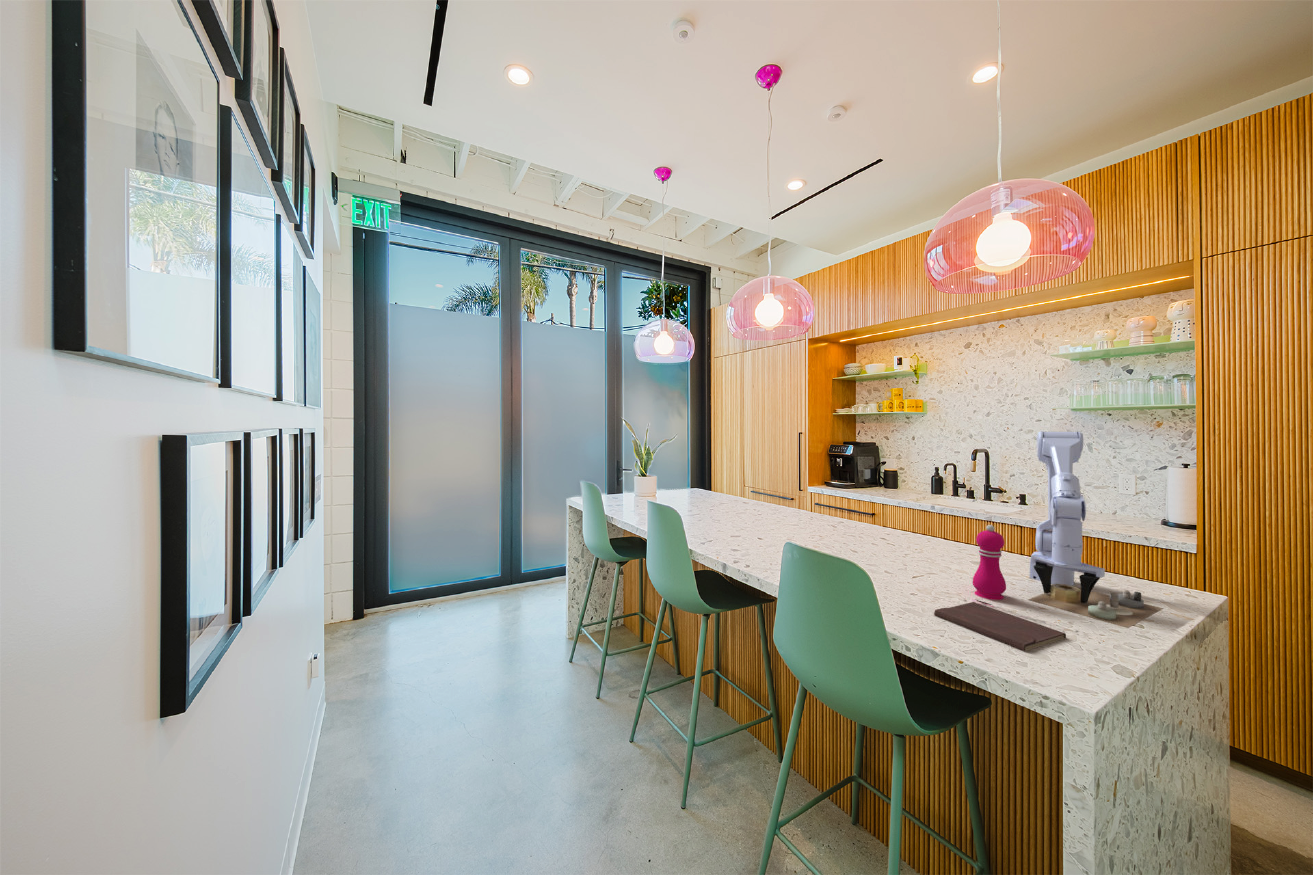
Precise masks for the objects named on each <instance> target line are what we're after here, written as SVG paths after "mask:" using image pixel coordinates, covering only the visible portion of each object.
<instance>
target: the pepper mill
mask: <svg viewBox="0 0 1313 875" xmlns="http://www.w3.org/2000/svg"><path fill="white" fill-rule="evenodd" d="M985 528H986V530H983V531H979V533H977V535H976V538H975V541H976V544H977V545H978V547H979V548H978V552H977V553H978V555H979V559H980V560H979V565H978V567H977V570H976V571H975V573H974V574H973V578H972V585H973V588H974V589H975V591H974V595H975V596H977V597H979V598H981V599H986V600H993V601H999V600H1001V601H1002V600H1003V599H1004V595H1002V594H1003V593H1005V591H1006V590H1007V583H1006V580H1005V578H1004V576H1003V574H1002V571H1001V568H1000V558H1001V557H1002V550H1001V549H1002V548H1003V547H1004V546H1005V539H1004V537H1003V535H1002V534H1000V533H999V532H998V531H995V526H994V525H992V524H987V525H986V526H985ZM975 601H977V603H980V604H983V605H984V604H985V605H989V606H993V603H988V602H985V601H982V600H978V599H975Z"/></svg>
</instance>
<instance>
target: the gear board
mask: <svg viewBox="0 0 1313 875" xmlns="http://www.w3.org/2000/svg"><path fill="white" fill-rule="evenodd" d="M1078 588H1079V589H1080V590H1081V587H1078ZM1131 594H1132V593H1131V592H1130V591H1129V590H1128V589H1127V590H1126V589H1124V590H1123V591H1122V593H1117V592H1111V593H1110V594H1106V593H1101V592H1098V591H1093V590H1092V591H1091V593H1090V595H1089V598H1088V602H1087V603H1081V600H1080V602H1078V603H1068V602H1063V601H1059V600H1055V599H1054V598H1052V597H1051V596H1050V593H1047V594H1046V593H1044V592H1043V593H1042V594H1039V595H1036V596H1034V597H1031V598H1028V599H1027V601H1029V602H1033V603H1034V602H1035V603H1037V604H1041V605H1045V606H1048V607H1051V608H1055V609H1057V610H1058V609H1059V610H1061V611H1065V612H1068V613H1072V614H1077V615H1079V616H1083V617H1086V618H1090V619H1094V620H1098V621H1101V622H1104V623H1109V624H1112V625H1115V626H1119V627H1123V628H1127V629H1129V628H1131V627H1132V626H1134V625H1136V624H1137V623H1140V622H1141V621H1144V620H1145V619H1147V618H1149V617H1151V616H1152V615H1154V614H1156V613H1158V612H1160V611H1161V610H1163V609H1164V607H1159V606H1156V605H1152V604H1151V605H1150V604H1148V603H1147V604H1146V603H1145V602H1144V600H1143V599H1142V592H1141V591H1140V592H1139V591H1134V594H1133V595H1131Z"/></svg>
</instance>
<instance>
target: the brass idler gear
mask: <svg viewBox="0 0 1313 875" xmlns="http://www.w3.org/2000/svg"><path fill="white" fill-rule="evenodd" d="M1079 588H1080V587H1077V586H1075V585H1073V586H1070V585H1066V584H1056V583H1054V584H1051V592H1050V596H1051V597H1052V598H1054V599H1055V600H1059V601H1063V602H1068V603H1078V602H1080V597H1081V590H1080V589H1079Z"/></svg>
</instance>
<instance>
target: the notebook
mask: <svg viewBox="0 0 1313 875" xmlns="http://www.w3.org/2000/svg"><path fill="white" fill-rule="evenodd" d="M933 616H935V617H937V618H939V619H941V620H944V621H947V622H949V623H951V624H954V625H957V626H959V627H962V628H965V629H967V630H969V631H972V632H974V633H976V634H979V635H982V636H984V637H987V638H989V639H992V640H994V641H996V642H999V643H1002V644H1004V645H1007V646H1009V647H1011V648H1015V649H1016V650H1019V651H1022V652H1026V651H1027V652H1028V651H1029V650H1033V649H1035V648H1038V647H1041V646H1045V645H1048V644H1050V643H1055V642H1057V641H1058V642H1059V641H1060V640H1064V639H1067V634H1066V633H1065V632H1063V631H1060V630H1057V629H1054V628H1052V627H1048V626H1045V625H1042V624H1039V623H1037V622H1034V621H1031V620H1028V619H1025V618H1022V617H1019V616H1016V615H1014V614H1012V613H1008V612H1004V611H1001V610H998V609H997V608H992V607H989V606H987V605H984V604H983V603H980V602H976V601H971V602H966V603H963V604H959V605H955V606H950V607H941V608H937V609H935V610H934V613H933Z"/></svg>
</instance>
